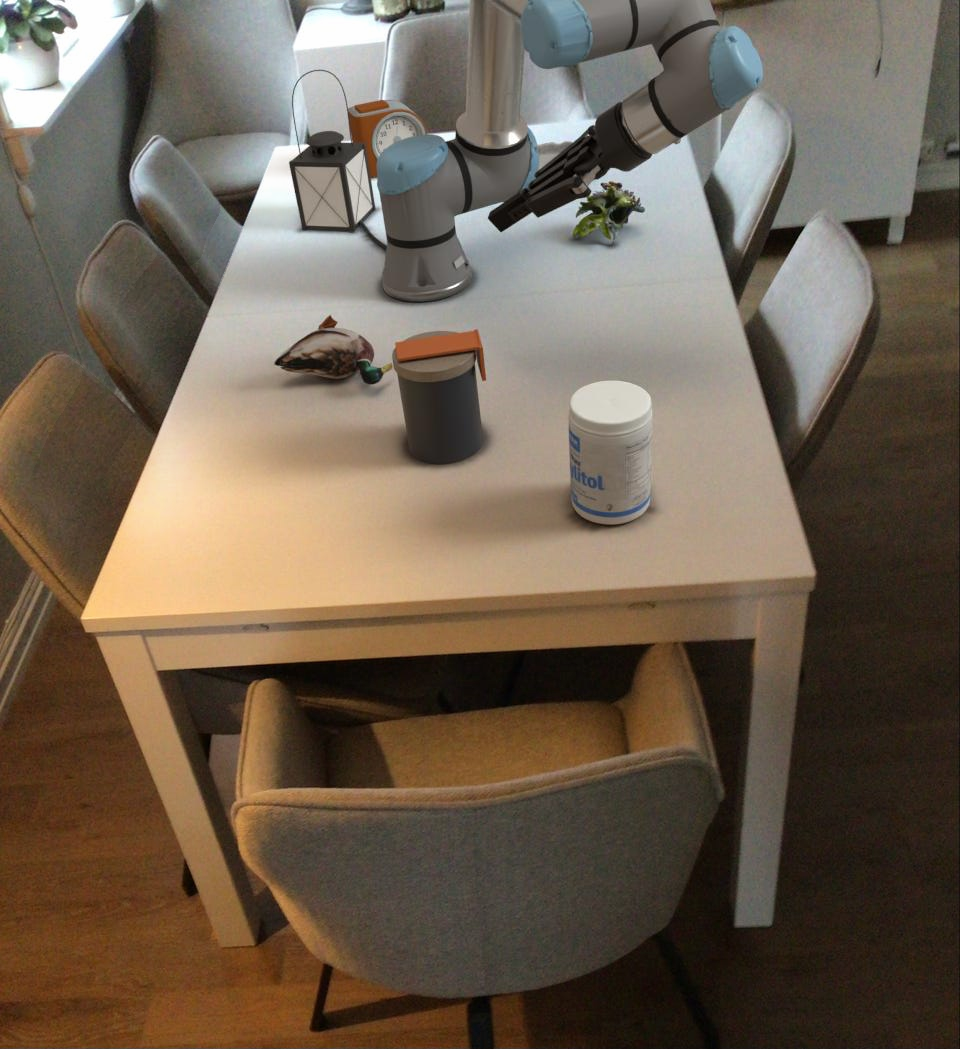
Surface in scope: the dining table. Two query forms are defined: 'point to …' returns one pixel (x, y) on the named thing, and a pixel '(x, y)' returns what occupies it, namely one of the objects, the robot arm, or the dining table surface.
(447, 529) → the dining table surface
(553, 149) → the dish
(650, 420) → the supplement tub
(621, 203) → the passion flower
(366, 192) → the lantern
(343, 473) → the dining table surface
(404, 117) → the alarm clock
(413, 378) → the travel mug
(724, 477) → the dining table surface
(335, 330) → the decorative duck model
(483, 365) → the lid slider
